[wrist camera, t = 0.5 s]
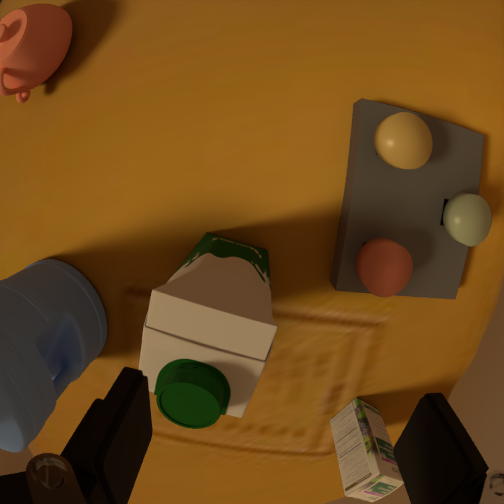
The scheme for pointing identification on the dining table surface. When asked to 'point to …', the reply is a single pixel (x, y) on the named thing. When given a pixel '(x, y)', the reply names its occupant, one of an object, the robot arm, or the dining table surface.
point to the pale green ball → (467, 218)
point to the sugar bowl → (32, 47)
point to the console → (406, 203)
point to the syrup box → (364, 452)
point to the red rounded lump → (383, 266)
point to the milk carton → (209, 333)
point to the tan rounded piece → (403, 141)
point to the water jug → (43, 344)
